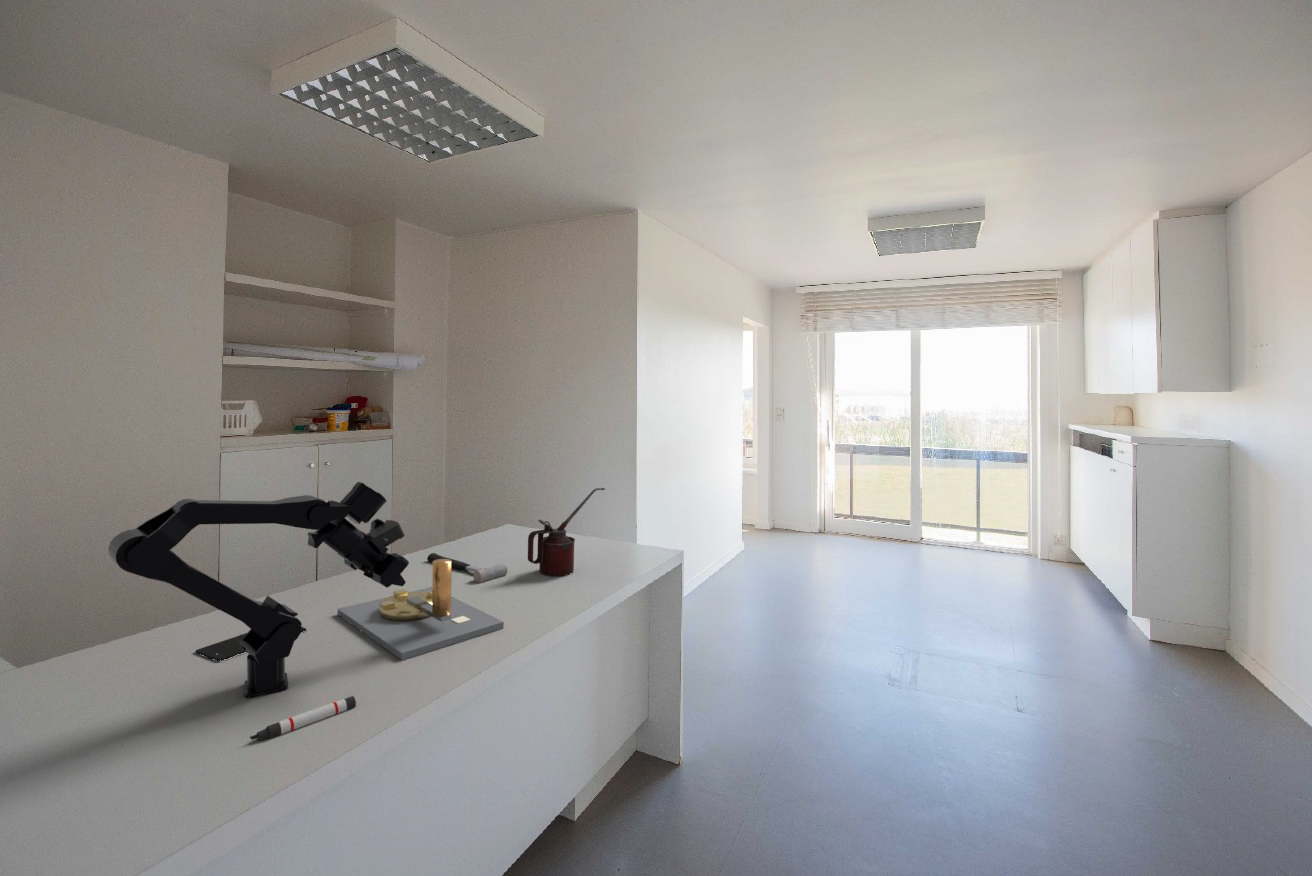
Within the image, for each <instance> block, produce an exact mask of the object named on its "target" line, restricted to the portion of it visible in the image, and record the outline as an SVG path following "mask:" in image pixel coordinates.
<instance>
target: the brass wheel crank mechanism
mask: <svg viewBox="0 0 1312 876" xmlns="http://www.w3.org/2000/svg"><path fill="white" fill-rule="evenodd" d="M450 559H451V558H450ZM450 559H438V560H434V561H433V562H432V581H431V583H432V586H431V587H432V591H429V592H412V591H409V592H408V591H407V590H405V589H403V588H402V589H398V590H393V593H392V594H393V595H391V596H387V597H388V598H386V597H385V598H386V599H384V600H382V601H381V602H380V604H379V614H380V616H381V617H383V618H386V619H389V620H399V621H403V620H415V619H421V618H425V617H428V616H432V617H433V618H435V619H437V620H439V621H441V622H442V621H446V620H449V619H451V596H452V568H453V567H452V561H451V560H450Z"/></svg>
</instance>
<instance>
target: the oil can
mask: <svg viewBox="0 0 1312 876" xmlns="http://www.w3.org/2000/svg"><path fill="white" fill-rule="evenodd" d="M604 490H606V488H604V487H597V488H594V489H593V490H592V491H591V492H590V493H589V494H587V496H586V498H584V499H583V501H582V502H581V503H579V505H578V506H577V507H576V508H575V509H574V510H573V511H572V512H571V513H570V515H569V516H568V517H567V518H566V519H565V520H564V521H563V522H562V523H561V524H560V525H559V526H558V527H557V528H553V527H552V525H551V523H550V522H549V521H548V520H547V521H546V520H545V521H544V520H542V519H538V522H539V523H540V524H541V525H543V528H544V529H539V530H538V529H537V530H534V531H531V532H530V533H529V534H528V537H527V560H528V562H529V563H531V564H534V565H538V564H539V573H540V575H543V576H546V577H555V576H556V577H565V575H566V576H569V575H571V574H573V573H574V570H575V569H574V566H575V565H574V564H575V563H574V562H575V541H576V539H575V538H574V537H571V536H567V530H566V529H565V528H566V527H567V525H568V524H569V523H570V522H571V520H572V519H573V518H574V517H575V516H576V515H577V513H578V512H579V511H580V510H581V508H583V506H584V505H585V504H586V503H587V502H588V500H589V499H590V498H591V497H592V495H593V494H594V493H595V492H596V491H604ZM545 534H548V536H544V535H545ZM536 536H537V557H536V559H535V560H534V541H535V537H536ZM570 573H571V574H570Z"/></svg>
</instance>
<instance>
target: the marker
mask: <svg viewBox="0 0 1312 876" xmlns="http://www.w3.org/2000/svg"><path fill="white" fill-rule="evenodd" d="M356 704H357V701H356V698H355V696H354V695H350V696H348V697H346V698H343V699H340V700H336V701H334V702H331V703H328V704H325V705H323V706H320V707H317V708H314V709H311V710H309V711H305V712H302V713H300V714H297V715H294V716H291V717H288V718H285V719H283V720H280V721H278V722H275V723H273V724H270V725H267V726H266V727H265V728H263V729H261V730H260V731H258V732H256V734H254V735H251V736H249V738H250V740H253V741H254V740H256V739H257V741H259V740H260V741H262V740H265V739H272V738H275V737H278V736H281V735H284V734H287V733H289V732H291V731H294V730H298V729H300V728H302V727H305V726H308V725H310V724H314V723H316V722H318V721H321V720H324V719H326V718H327V719H328V718H330V717H331V716H332V717H333V716H335V715H338V714H340V713H342V712H345V711H348V710H351V709H354V708H356Z"/></svg>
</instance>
